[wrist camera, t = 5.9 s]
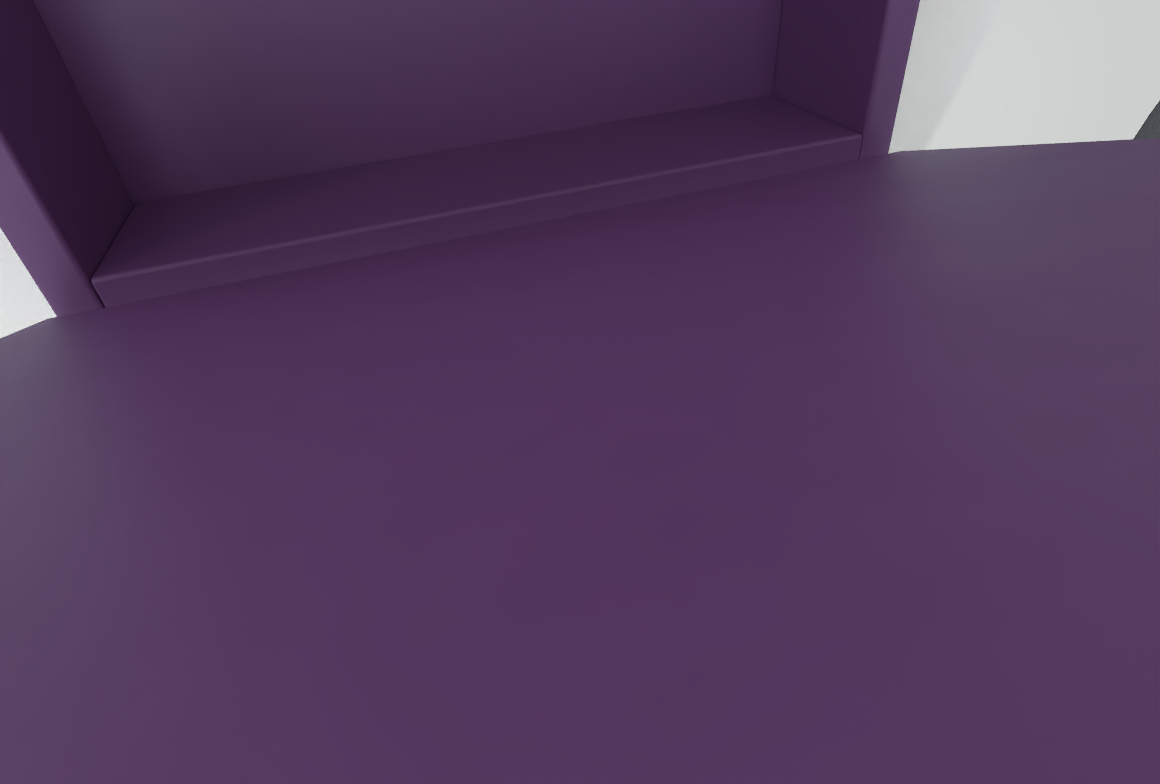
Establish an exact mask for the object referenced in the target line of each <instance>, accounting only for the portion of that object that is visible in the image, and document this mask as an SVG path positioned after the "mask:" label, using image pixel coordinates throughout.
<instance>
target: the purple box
mask: <svg viewBox="0 0 1160 784" xmlns="http://www.w3.org/2000/svg"><path fill="white" fill-rule="evenodd" d="M919 2H920V0H0V228H1V229H2V231H3V232H4V234H5V235H6V237H7V239H8V240H9V242H10V243H11V245H12V246H13V248H14V250H15V251H16V253H17V254H18V256H19V257H20V259H21V261H22V262H23V264H24V265H25V267H26V268H27V270H28V271H29V273H30V275H31V276H32V278H33V279H34V281H35V282H36V284H37V286H38V287H39V289H40V290H41V292H42V293H43V295H44V297H45V298H46V300H47V301H48V303H49V304H50V306H51V307H52V309H53V311H54V312H55V314H56V315H57V317H60V316H65V315H71V314H76V313H81V312H86V311H91V310H96V309H101V308H106V307H111V306H116V305H121V304H127V303H132V302H137V301H142V300H147V299H152V298H157V297H162V296H167V295H172V294H177V293H183V292H188V291H193V290H198V289H203V288H208V287H213V286H218V285H223V284H228V283H233V282H239V281H244V280H249V279H254V278H259V277H264V276H269V275H274V274H279V273H284V272H289V271H295V270H300V269H305V268H310V267H315V266H320V265H325V264H330V263H335V262H340V261H345V260H351V259H356V258H361V257H366V256H371V255H376V254H381V253H386V252H391V251H396V250H401V249H407V248H412V247H417V246H422V245H427V244H432V243H437V242H442V241H447V240H452V239H457V238H463V237H468V236H473V235H478V234H483V233H488V232H493V231H498V230H503V229H508V228H513V227H519V226H524V225H529V224H534V223H539V222H544V221H549V220H554V219H559V218H564V217H569V216H575V215H580V214H585V213H590V212H595V211H600V210H605V209H610V208H615V207H620V206H625V205H631V204H636V203H641V202H646V201H651V200H656V199H661V198H666V197H671V196H676V195H681V194H687V193H692V192H697V191H702V190H707V189H712V188H717V187H722V186H727V185H732V184H737V183H743V182H748V181H753V180H758V179H763V178H768V177H773V176H778V175H783V174H788V173H793V172H799V171H804V170H809V169H814V168H819V167H824V166H829V165H834V164H839V163H844V162H849V161H855V160H860V159H865V158H870V157H875V156H880V155H885V154H888V151H889V146H890V142H891V137H892V132H893V127H894V122H895V117H896V113H897V108H898V103H899V98H900V93H901V89H902V84H903V79H904V74H905V69H906V64H907V60H908V55H909V50H910V45H911V40H912V35H913V31H914V26H915V21H916V16H917V11H918V7H919Z"/></svg>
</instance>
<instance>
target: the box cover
mask: <svg viewBox="0 0 1160 784" xmlns="http://www.w3.org/2000/svg"><path fill="white" fill-rule="evenodd" d="M0 784H1160V138H1155V139H1135V140H1115V141H1096V142H1077V143H1057V144H1038V145H1017V146H998V147H978V148H958V149H939V150H919V151H900V152H895V153H890V154H885V155H880V156H875V157H870V158H865V159H860V160H855V161H849V162H844V163H839V164H834V165H829V166H824V167H819V168H814V169H809V170H804V171H799V172H793V173H788V174H783V175H778V176H773V177H768V178H763V179H758V180H753V181H748V182H743V183H737V184H732V185H727V186H722V187H717V188H712V189H707V190H702V191H697V192H692V193H687V194H681V195H676V196H671V197H666V198H661V199H656V200H651V201H646V202H641V203H636V204H631V205H625V206H620V207H615V208H610V209H605V210H600V211H595V212H590V213H585V214H580V215H575V216H569V217H564V218H559V219H554V220H549V221H544V222H539V223H534V224H529V225H524V226H519V227H513V228H508V229H503V230H498V231H493V232H488V233H483V234H478V235H473V236H468V237H463V238H457V239H452V240H447V241H442V242H437V243H432V244H427V245H422V246H417V247H412V248H407V249H401V250H396V251H391V252H386V253H381V254H376V255H371V256H366V257H361V258H356V259H351V260H345V261H340V262H335V263H330V264H325V265H320V266H315V267H310V268H305V269H300V270H295V271H289V272H284V273H279V274H274V275H269V276H264V277H259V278H254V279H249V280H244V281H239V282H233V283H228V284H223V285H218V286H213V287H208V288H203V289H198V290H193V291H188V292H183V293H177V294H172V295H167V296H162V297H157V298H152V299H147V300H142V301H137V302H132V303H127V304H121V305H116V306H111V307H106V308H101V309H96V310H91V311H86V312H81V313H76V314H71V315H65V316H60V317H55V318H50V319H46V320H44V321H42V322H39V323H37V324H34V325H32V326H30V327H27V328H25V329H22V330H20V331H18V332H15V333H13V334H10V335H8V336H6V337H3V338H1V339H0Z"/></svg>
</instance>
